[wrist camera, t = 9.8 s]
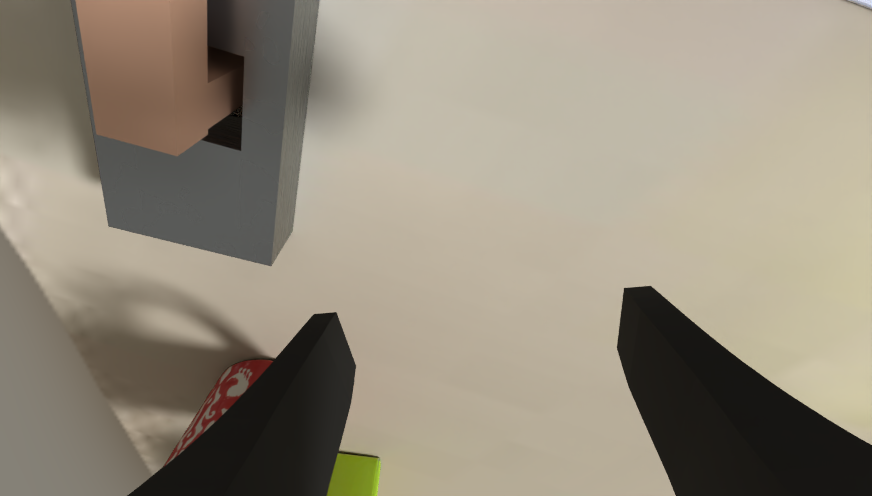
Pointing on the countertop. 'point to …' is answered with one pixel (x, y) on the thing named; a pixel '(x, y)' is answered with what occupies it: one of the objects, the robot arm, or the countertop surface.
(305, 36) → the gray slotted board
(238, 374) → the mug
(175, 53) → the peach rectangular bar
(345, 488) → the box
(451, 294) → the countertop surface
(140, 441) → the countertop surface
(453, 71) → the countertop surface
